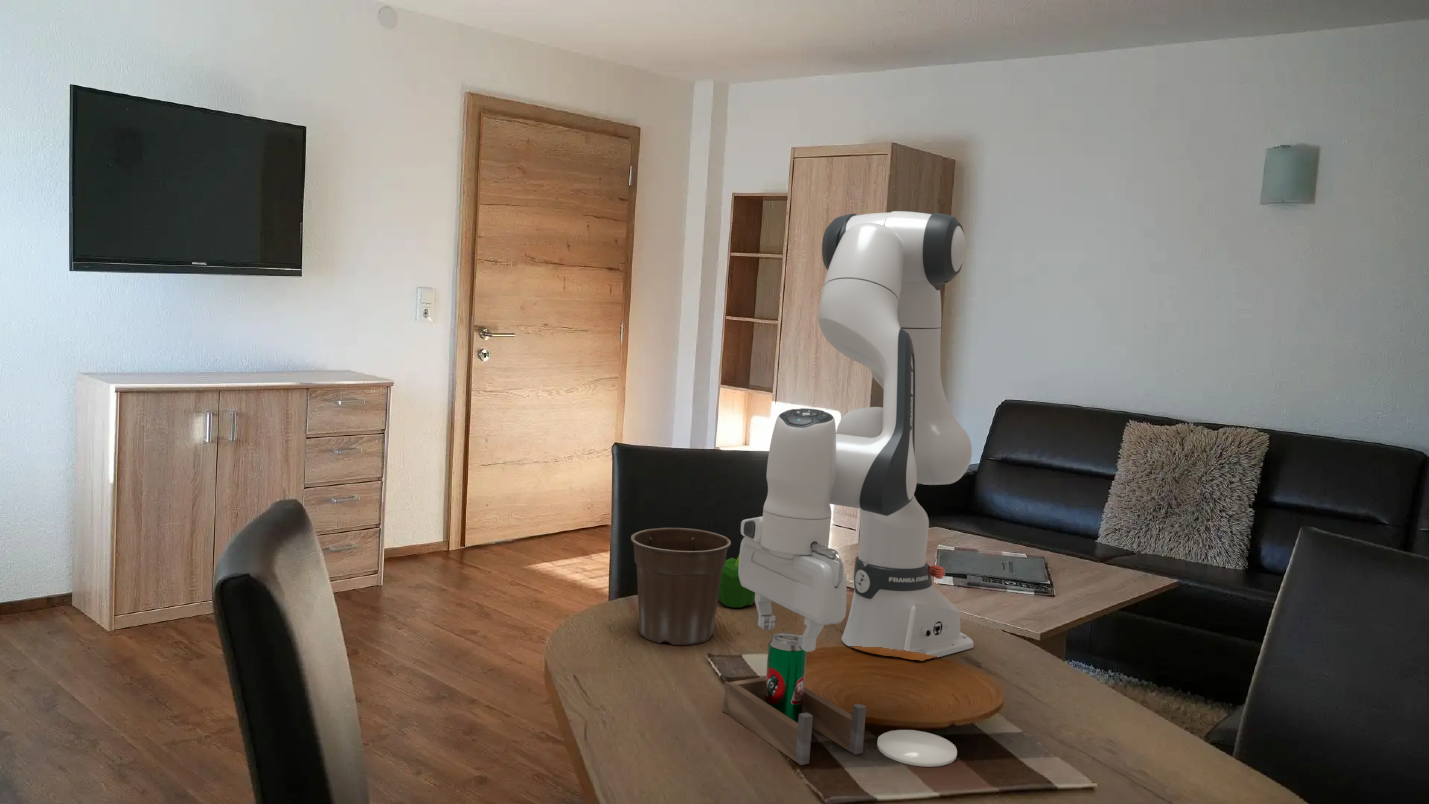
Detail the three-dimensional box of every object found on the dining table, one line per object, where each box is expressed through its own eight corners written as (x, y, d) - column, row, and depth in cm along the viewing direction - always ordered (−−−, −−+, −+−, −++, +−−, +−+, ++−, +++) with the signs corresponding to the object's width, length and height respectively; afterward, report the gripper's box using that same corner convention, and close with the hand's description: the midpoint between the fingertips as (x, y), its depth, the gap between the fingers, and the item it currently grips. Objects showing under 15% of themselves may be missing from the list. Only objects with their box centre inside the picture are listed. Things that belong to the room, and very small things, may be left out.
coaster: (920, 729, 149) (921, 725, 148) (973, 759, 140) (973, 754, 140) (861, 740, 143) (861, 736, 143) (912, 772, 135) (912, 767, 135)
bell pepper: (707, 607, 199) (711, 553, 198) (717, 596, 207) (721, 543, 206) (753, 613, 198) (757, 558, 197) (762, 601, 206) (765, 548, 205)
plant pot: (666, 657, 171) (673, 554, 170) (605, 628, 183) (611, 532, 182) (744, 640, 182) (751, 544, 180) (682, 615, 194) (687, 524, 192)
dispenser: (781, 702, 155) (784, 660, 155) (862, 753, 140) (866, 707, 139) (723, 711, 151) (726, 668, 150) (800, 765, 135) (804, 717, 134)
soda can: (798, 735, 144) (805, 645, 143) (759, 730, 145) (766, 640, 144) (803, 721, 149) (809, 634, 148) (765, 716, 150) (772, 629, 149)
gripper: (863, 552, 137) (853, 661, 138) (773, 518, 154) (764, 615, 155) (822, 554, 134) (811, 666, 135) (734, 519, 151) (725, 618, 152)
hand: (785, 638), depth 145 cm, fingers open, 8 cm apart
